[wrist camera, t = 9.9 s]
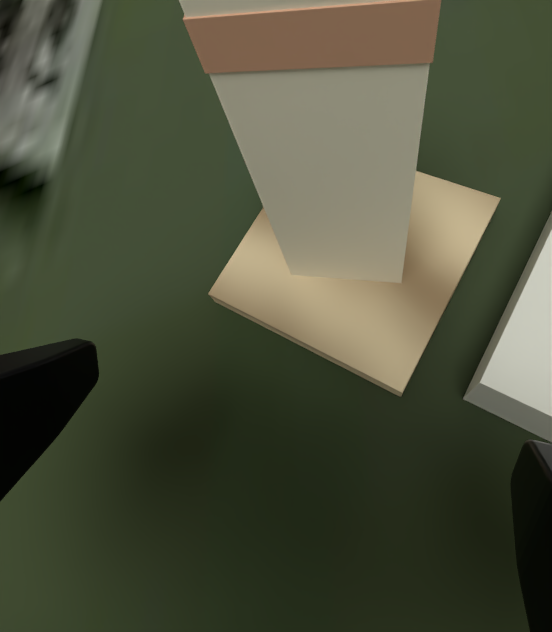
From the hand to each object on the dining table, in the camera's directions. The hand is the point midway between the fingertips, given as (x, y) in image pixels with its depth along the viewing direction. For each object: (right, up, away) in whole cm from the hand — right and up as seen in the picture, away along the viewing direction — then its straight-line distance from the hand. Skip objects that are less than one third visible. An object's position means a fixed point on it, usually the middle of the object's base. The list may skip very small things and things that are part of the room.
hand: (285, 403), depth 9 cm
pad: (+3, +4, +11) cm, 12 cm away
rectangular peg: (+3, +5, +10) cm, 11 cm away
